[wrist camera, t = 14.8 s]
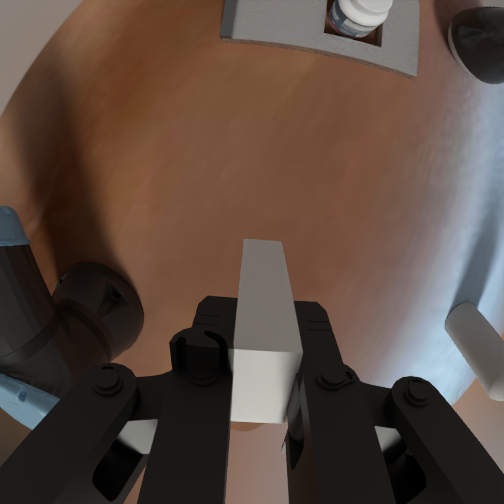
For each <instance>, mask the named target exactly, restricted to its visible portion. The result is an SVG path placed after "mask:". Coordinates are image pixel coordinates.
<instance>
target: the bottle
mask: <svg viewBox="0 0 504 504" xmlns="http://www.w3.org/2000/svg"><path fill="white" fill-rule="evenodd" d="M445 330H446V332H447V333H448V335H449V336H450V338H451V339H452V341H453V342H454V344H455V345H456V346H457V348H458V349H459V351H460V352H461V354H462V355H463V357H464V358H465V360H466V361H467V363H468V364H469V366H470V367H471V369H472V370H473V372H474V374H475V375H476V377H477V378H478V380H479V381H480V383H481V384H482V386H483V388H484V389H485V391H486V393H487V394H488V396H489V397H490V398H491V399H493V400H498V401H504V341H503V339H502V338H501V337H500V336H499V334H498V333H497V332H496V331H495V329H494V328H493V327H492V326H491V324H490V323H489V322H488V321H487V320H486V319H485V317H484V316H483V315H482V314H481V313H480V312H479V310H478V309H477V308H476V307H475V306H474V305H473V304H472V303H471V302H464V303H461V304H459V305H457V306H456V307H455V308H454V309H453V310H452V311H451V312H450V314H449V315H448V316H447V319H446V321H445Z"/></svg>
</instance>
